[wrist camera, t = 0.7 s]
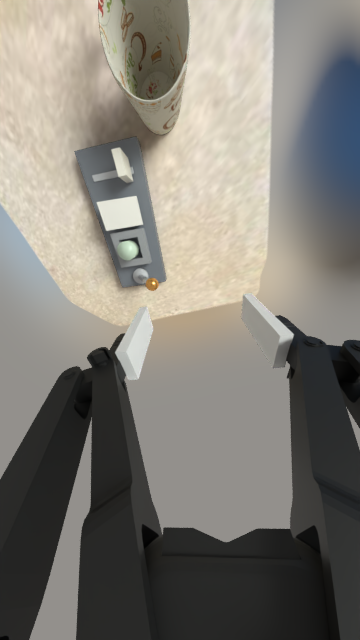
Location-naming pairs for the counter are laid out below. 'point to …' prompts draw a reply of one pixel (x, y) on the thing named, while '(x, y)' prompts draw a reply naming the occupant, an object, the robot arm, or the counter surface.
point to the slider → (122, 165)
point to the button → (127, 250)
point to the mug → (148, 55)
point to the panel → (109, 186)
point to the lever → (149, 282)
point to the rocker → (120, 213)
